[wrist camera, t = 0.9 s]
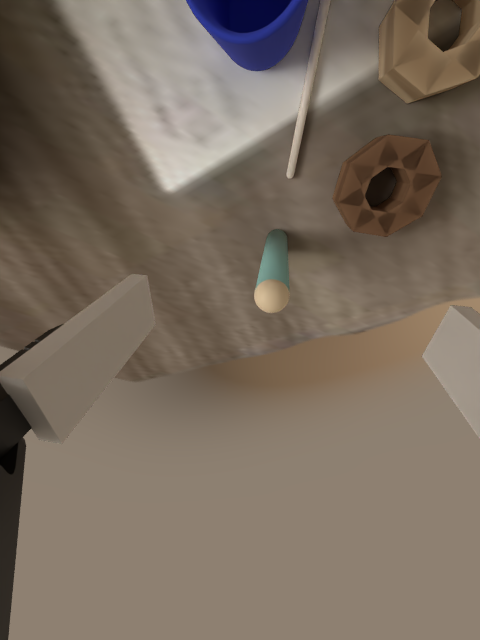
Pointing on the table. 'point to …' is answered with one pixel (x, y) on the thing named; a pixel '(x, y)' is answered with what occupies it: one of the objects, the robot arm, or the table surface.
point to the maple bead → (426, 50)
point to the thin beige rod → (308, 84)
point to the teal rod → (273, 274)
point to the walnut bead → (408, 194)
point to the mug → (252, 28)
